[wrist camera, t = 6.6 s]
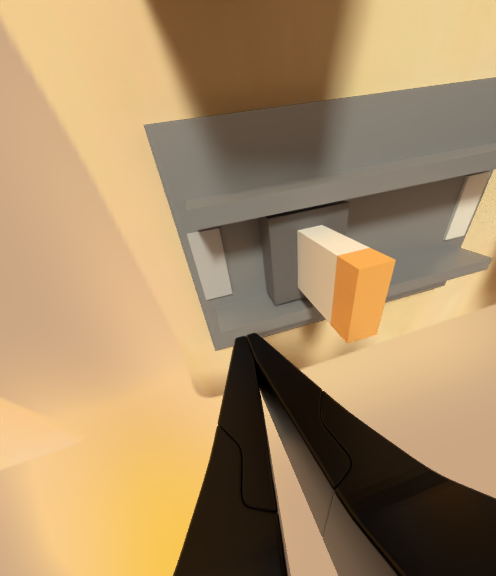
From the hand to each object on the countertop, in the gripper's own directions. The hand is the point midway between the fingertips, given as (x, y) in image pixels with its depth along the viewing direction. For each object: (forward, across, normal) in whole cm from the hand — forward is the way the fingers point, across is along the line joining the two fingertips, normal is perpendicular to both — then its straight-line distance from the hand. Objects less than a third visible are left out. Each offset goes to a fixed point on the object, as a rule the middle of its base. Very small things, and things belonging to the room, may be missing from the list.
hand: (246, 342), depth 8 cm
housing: (+9, -10, 0) cm, 13 cm away
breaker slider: (+8, -6, 0) cm, 9 cm away
